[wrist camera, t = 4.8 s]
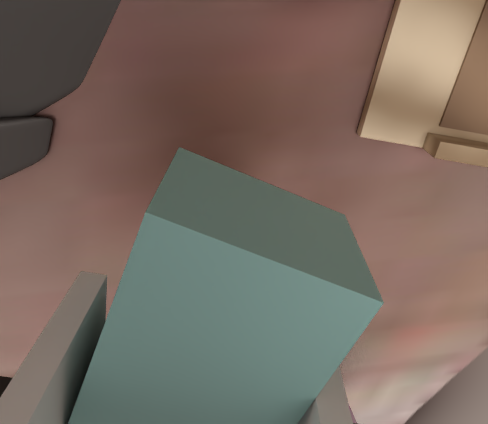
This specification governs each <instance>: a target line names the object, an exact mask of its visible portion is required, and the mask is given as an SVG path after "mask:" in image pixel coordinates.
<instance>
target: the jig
mask: <svg viewBox="0 0 488 424" xmlns="http://www.w3.org/2000/svg"><path fill="white" fill-rule="evenodd" d="M357 134H358V135H359V136H360V137H364V138H370V139H375V140H381V141H387V142H393V143H398V144H404V145H410V146H415V147H421V148H423V149H424V150H425V151H427V152H428V153H429V154H430V155H431V156H433V157H434V158H437V159H443V160H448V161H454V162H460V163H466V164H471V165H477V166H483V167H488V0H395V4H394V7H393V10H392V14H391V17H390V21H389V24H388V27H387V31H386V34H385V38H384V41H383V44H382V48H381V51H380V55H379V58H378V61H377V65H376V68H375V72H374V75H373V78H372V82H371V85H370V89H369V92H368V95H367V99H366V102H365V106H364V109H363V112H362V116H361V119H360V123H359V126H358V129H357Z"/></svg>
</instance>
